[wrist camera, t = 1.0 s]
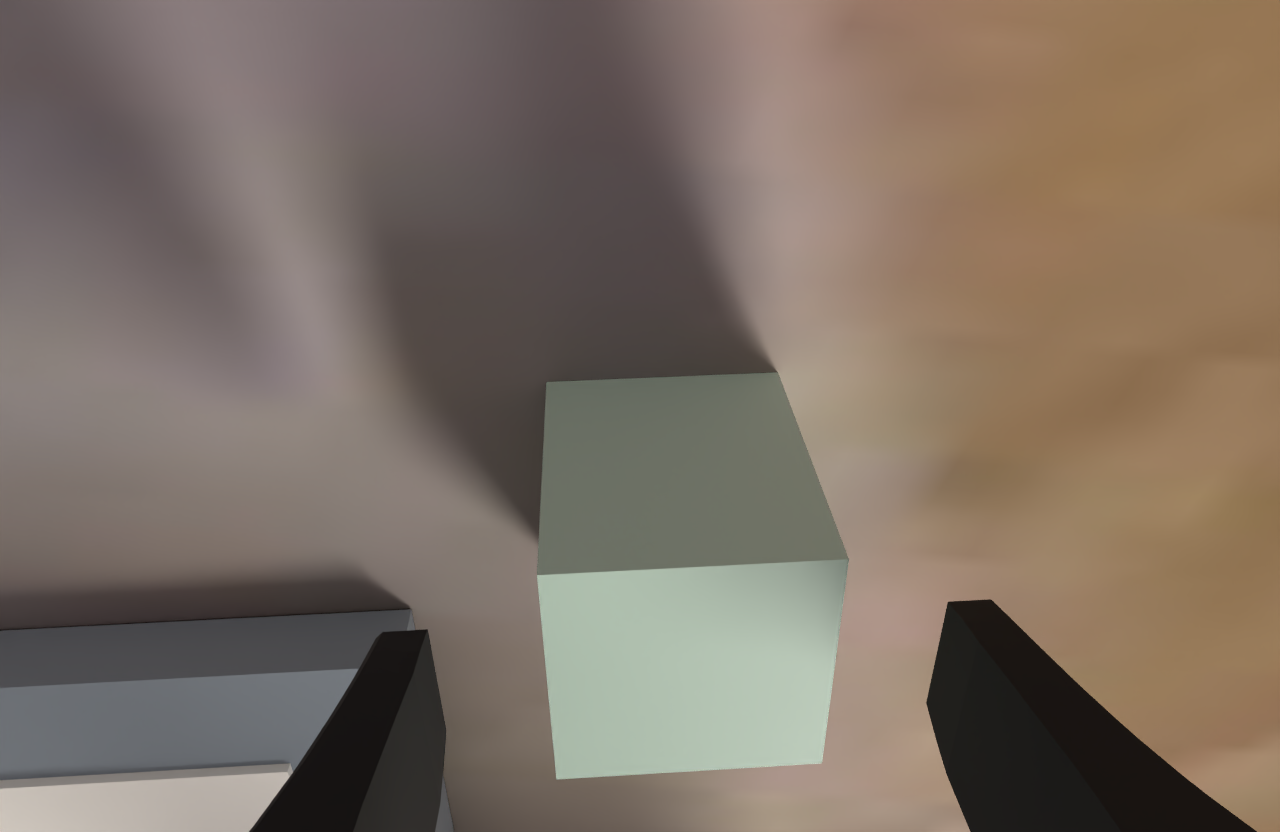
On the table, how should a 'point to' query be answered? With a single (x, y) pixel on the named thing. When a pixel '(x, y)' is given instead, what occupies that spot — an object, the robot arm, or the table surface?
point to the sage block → (684, 577)
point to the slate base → (170, 718)
